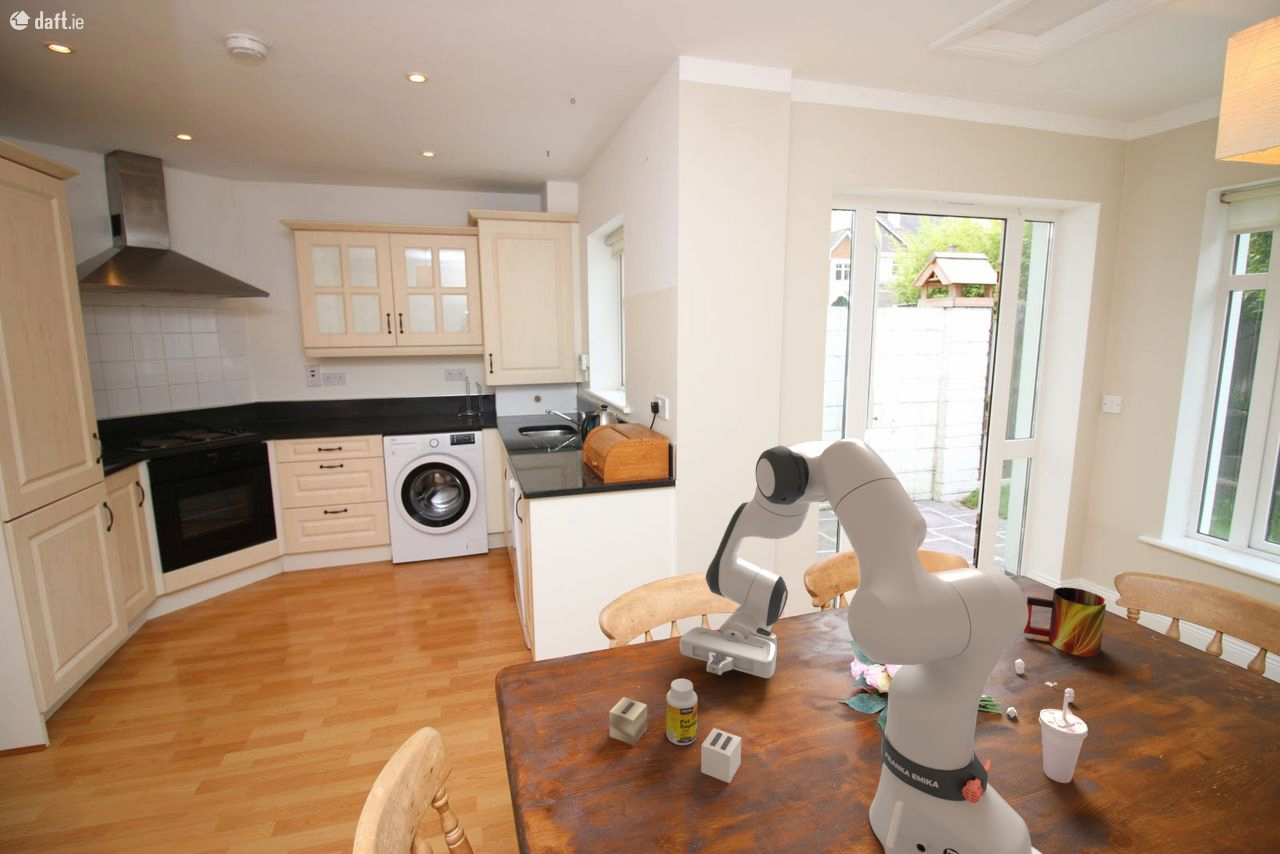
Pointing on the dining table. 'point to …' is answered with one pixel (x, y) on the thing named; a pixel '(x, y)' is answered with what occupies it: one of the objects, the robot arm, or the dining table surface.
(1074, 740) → the smoothie
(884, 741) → the robot arm
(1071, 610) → the mug
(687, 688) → the supplement bottle
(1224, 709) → the dining table surface
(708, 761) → the marked off-white block
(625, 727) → the marked birch block
